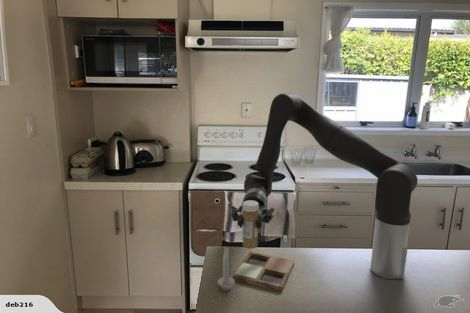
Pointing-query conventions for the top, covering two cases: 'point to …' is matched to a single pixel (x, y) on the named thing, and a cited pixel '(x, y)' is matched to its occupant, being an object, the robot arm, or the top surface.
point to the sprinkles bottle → (250, 224)
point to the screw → (226, 272)
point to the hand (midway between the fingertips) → (249, 224)
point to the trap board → (264, 271)
